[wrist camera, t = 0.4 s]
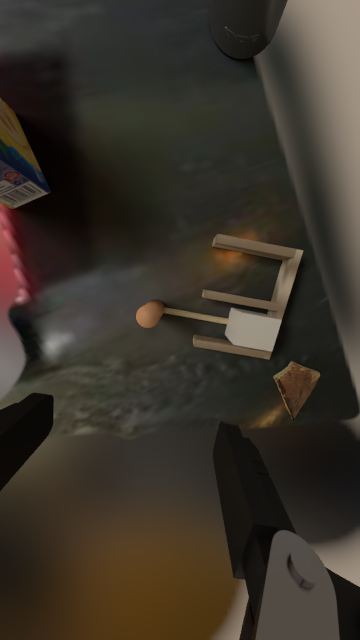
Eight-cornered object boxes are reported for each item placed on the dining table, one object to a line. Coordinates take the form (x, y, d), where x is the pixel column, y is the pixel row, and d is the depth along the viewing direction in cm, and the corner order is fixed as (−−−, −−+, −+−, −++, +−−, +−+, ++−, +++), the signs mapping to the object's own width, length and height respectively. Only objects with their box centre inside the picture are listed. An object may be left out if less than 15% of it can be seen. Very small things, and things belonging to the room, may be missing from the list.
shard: (288, 415, 36) (294, 422, 34) (255, 402, 35) (259, 409, 33) (316, 370, 34) (324, 375, 32) (282, 356, 33) (287, 360, 31)
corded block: (149, 292, 30) (138, 296, 22) (264, 313, 31) (292, 323, 23) (145, 320, 31) (133, 332, 23) (256, 340, 32) (281, 358, 24)
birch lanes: (213, 238, 28) (217, 233, 25) (290, 253, 29) (303, 250, 26) (192, 340, 32) (193, 346, 29) (261, 352, 32) (269, 359, 29)
